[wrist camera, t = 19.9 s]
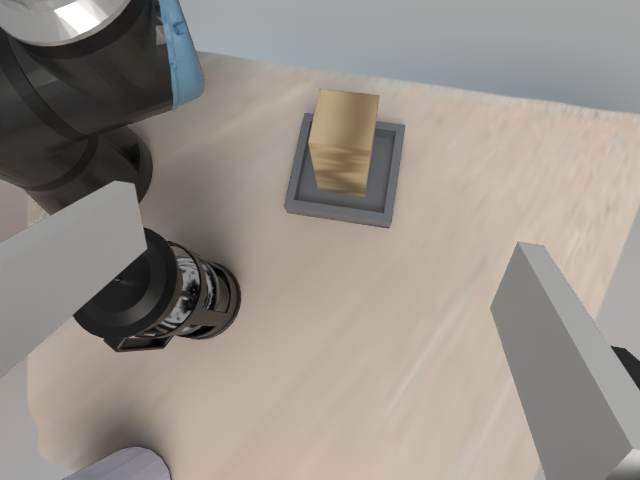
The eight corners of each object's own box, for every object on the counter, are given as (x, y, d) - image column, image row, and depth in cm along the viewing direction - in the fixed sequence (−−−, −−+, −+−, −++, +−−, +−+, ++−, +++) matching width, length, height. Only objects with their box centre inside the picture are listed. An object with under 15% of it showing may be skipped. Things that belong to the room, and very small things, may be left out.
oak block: (318, 190, 47) (308, 142, 35) (326, 148, 48) (319, 88, 36) (364, 196, 46) (370, 150, 34) (371, 153, 47) (379, 95, 36)
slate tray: (287, 212, 47) (284, 206, 44) (306, 123, 50) (304, 112, 47) (388, 228, 45) (391, 222, 43) (402, 135, 48) (405, 125, 46)
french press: (202, 243, 47) (70, 161, 24) (260, 285, 45) (173, 237, 23) (142, 320, 45) (-61, 307, 23) (199, 368, 43) (39, 403, 21)
